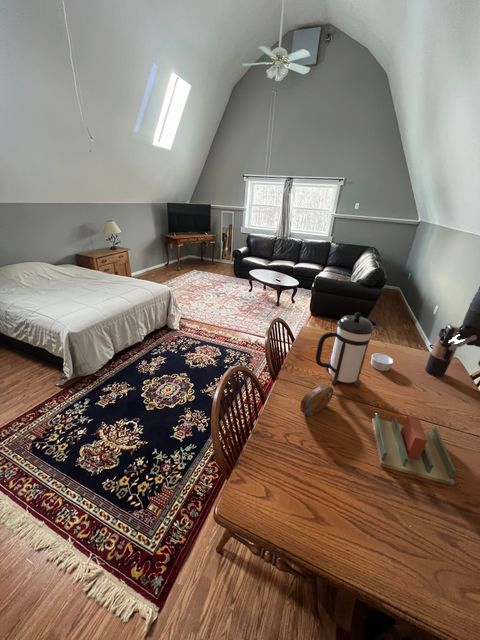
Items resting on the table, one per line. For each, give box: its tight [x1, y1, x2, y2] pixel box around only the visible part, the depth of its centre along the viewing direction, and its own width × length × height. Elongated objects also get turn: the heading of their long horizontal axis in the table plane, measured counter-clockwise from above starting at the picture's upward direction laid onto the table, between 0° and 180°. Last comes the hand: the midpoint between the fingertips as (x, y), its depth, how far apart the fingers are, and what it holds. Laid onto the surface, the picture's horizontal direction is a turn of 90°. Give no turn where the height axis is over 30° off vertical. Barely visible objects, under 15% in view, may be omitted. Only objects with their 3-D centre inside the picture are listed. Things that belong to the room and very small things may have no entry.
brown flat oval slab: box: [299, 383, 334, 417], centre depth 94 cm, size 15×3×8 cm, turn 126°
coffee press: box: [315, 312, 375, 388], centre depth 106 cm, size 17×16×30 cm
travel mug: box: [424, 328, 461, 378], centre depth 115 cm, size 8×8×20 cm
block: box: [401, 414, 428, 460], centre depth 79 cm, size 3×9×8 cm, turn 163°
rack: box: [371, 412, 457, 487], centre depth 81 cm, size 18×18×4 cm
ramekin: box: [370, 352, 394, 372], centre depth 121 cm, size 9×9×4 cm
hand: (463, 363), depth 75 cm, fingers open, 8 cm apart
